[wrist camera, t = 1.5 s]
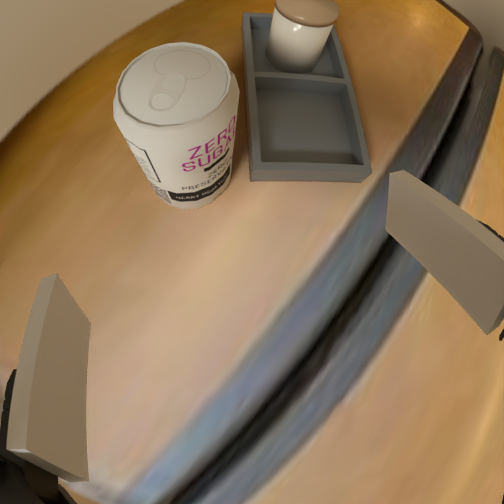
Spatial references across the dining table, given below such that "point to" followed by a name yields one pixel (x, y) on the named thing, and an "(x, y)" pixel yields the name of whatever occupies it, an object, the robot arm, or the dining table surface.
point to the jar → (299, 33)
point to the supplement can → (180, 121)
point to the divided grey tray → (301, 114)
